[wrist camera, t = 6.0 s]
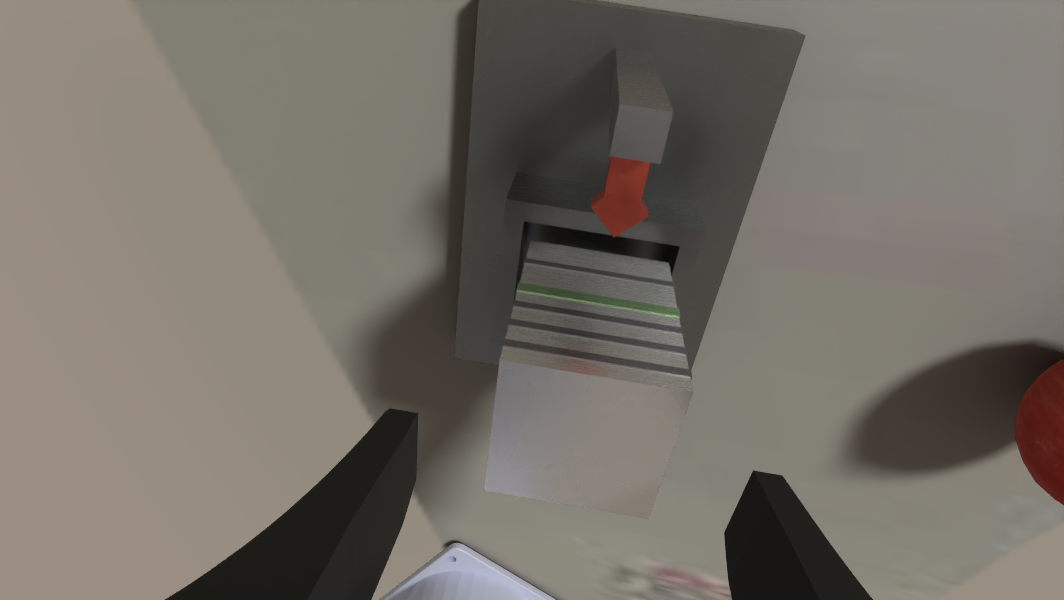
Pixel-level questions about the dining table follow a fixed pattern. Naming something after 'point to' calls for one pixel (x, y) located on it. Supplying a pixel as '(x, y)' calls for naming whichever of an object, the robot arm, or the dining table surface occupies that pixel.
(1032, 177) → the dining table surface
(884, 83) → the dining table surface
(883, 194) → the dining table surface
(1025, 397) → the onion
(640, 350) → the column
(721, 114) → the jack base
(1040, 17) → the dining table surface
